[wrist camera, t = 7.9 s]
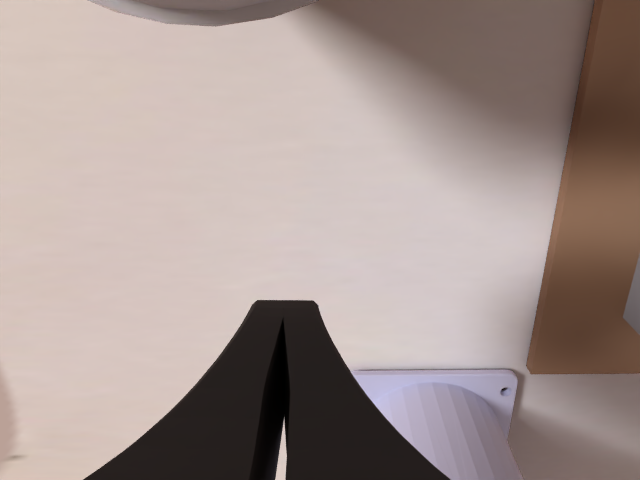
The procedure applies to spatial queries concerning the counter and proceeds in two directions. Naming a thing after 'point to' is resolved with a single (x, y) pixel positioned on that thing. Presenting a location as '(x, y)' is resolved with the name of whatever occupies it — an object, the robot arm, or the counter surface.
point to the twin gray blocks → (634, 301)
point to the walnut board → (596, 211)
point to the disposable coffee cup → (203, 10)
